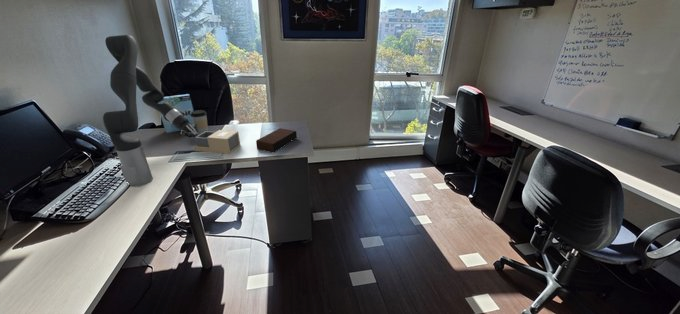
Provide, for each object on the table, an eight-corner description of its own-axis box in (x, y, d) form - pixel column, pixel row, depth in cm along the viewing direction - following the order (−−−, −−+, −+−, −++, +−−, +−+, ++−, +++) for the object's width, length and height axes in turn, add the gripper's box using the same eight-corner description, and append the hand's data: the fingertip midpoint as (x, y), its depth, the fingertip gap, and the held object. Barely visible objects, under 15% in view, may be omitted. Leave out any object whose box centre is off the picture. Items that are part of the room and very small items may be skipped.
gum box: (196, 125, 198) (188, 93, 188) (197, 127, 194) (189, 95, 184) (165, 131, 189) (155, 97, 179) (165, 133, 185) (155, 99, 175)
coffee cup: (213, 132, 187) (209, 110, 180) (204, 137, 178) (199, 114, 172) (202, 130, 189) (197, 109, 182) (191, 135, 181) (186, 113, 174)
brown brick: (281, 136, 180) (280, 127, 178) (296, 139, 176) (296, 130, 173) (257, 149, 161) (255, 140, 159) (273, 153, 157) (272, 144, 154)
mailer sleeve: (229, 153, 156) (226, 138, 152) (194, 150, 159) (190, 135, 155) (240, 145, 166) (238, 131, 162) (207, 142, 170) (204, 128, 166)
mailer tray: (229, 151, 156) (227, 139, 153) (197, 148, 160) (194, 137, 157) (238, 144, 165) (236, 133, 162) (207, 141, 168) (205, 131, 165)
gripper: (171, 117, 152) (196, 140, 155) (187, 111, 164) (210, 132, 167) (165, 126, 155) (190, 148, 158) (181, 119, 167) (204, 139, 170)
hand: (200, 139), depth 163 cm, fingers closed
